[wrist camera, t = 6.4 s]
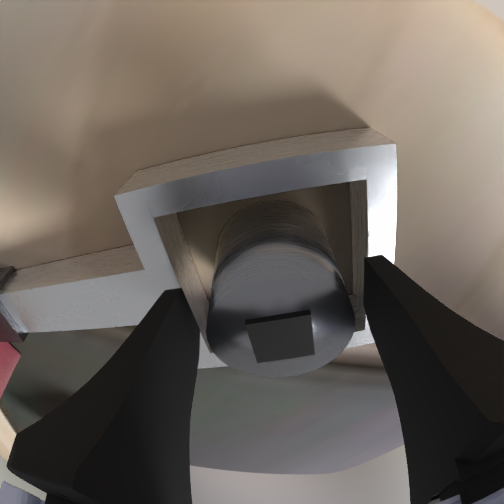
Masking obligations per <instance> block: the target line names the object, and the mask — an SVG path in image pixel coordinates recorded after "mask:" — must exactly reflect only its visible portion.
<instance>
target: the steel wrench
mask: <svg viewBox="0 0 504 504" xmlns="http://www.w3.org/2000/svg"><path fill="white" fill-rule="evenodd" d="M344 182H349V190H350V206H351V226H352V258H353V295H350V296H349V299H350V301H351V304H352V307H353V310H354V314H355V330H354V333H353V336H352V338H351V340H350V342H349V344H348V345H347V347H346V348H351V347H356V346H361V345H366V344H370V343H375V341H374V339H373V336H372V334H371V331H370V328H369V324H368V321H367V317H366V313H365V309H364V306H363V296H364V258H365V257H371V256H376V255H383V256H384V257H386V258H387V259H388V260H389V261H391V262H392V263H393V264H394V257H395V241H396V218H397V155H396V143H394V142H393V141H391V140H390V139H388V138H387V137H385V136H384V135H382V134H381V133H379V132H377V131H376V130H374V129H373V128H371V127H369V128H359V129H350V130H341V131H333V132H325V133H318V134H311V135H304V136H297V137H291V138H285V139H279V140H273V141H267V142H261V143H256V144H251V145H245V146H240V147H235V148H230V149H226V150H221V151H216V152H212V153H207V154H203V155H198V156H194V157H190V158H186V159H182V160H178V161H174V162H170V163H166V164H162V165H158V166H154V167H151V168H147V169H143V170H140V171H136V172H135V173H134V174H133V175H132V176H131V177H130V178H129V180H128V181H127V182H126V183H125V184H124V185H123V186H122V187H121V189H120V190H119V191H118V192H117V193H116V194H115V195H114V198H115V200H116V203H117V206H118V208H119V211H120V213H121V215H122V218H123V220H124V223H125V225H126V228H127V230H128V232H129V235H130V237H131V239H132V242H133V244H134V245H130V246H125V247H120V248H115V249H110V250H106V251H101V252H96V253H92V254H87V255H82V256H78V257H73V258H69V259H64V260H60V261H55V262H51V263H46V264H42V265H38V266H33V267H29V268H25V269H20V270H16V271H15V270H14V268H13V266H11V267H7V268H3V269H0V342H24V340H25V338H26V337H27V335H28V333H29V332H49V331H67V330H82V329H96V328H108V327H120V326H131V325H138V324H139V323H140V322H141V320H142V319H143V318H144V316H145V315H146V314H147V312H148V311H149V310H150V308H151V307H152V306H153V304H154V303H155V302H156V301H157V299H158V298H159V297H160V295H161V294H162V293H163V292H164V291H165V290H169V289H176V288H182V290H183V292H184V294H185V297H186V299H187V301H188V304H189V306H190V308H191V310H192V313H193V315H194V317H195V320H196V322H197V324H198V326H199V328H200V354H199V363H198V369H199V368H211V367H222V366H228V365H226V364H225V363H224V362H222V361H221V360H220V359H219V358H218V357H217V356H216V355H215V354H214V352H213V351H212V350H211V348H210V346H209V344H208V341H207V336H206V325H207V318H208V310H209V302H208V300H207V297H206V294H205V292H204V289H203V287H202V284H201V281H200V278H199V276H198V273H197V270H196V268H195V265H194V262H193V259H192V257H191V254H190V251H189V248H188V245H187V243H186V240H185V237H184V234H183V231H182V228H181V225H180V223H179V220H178V217H177V214H176V213H177V212H182V211H186V210H191V209H196V208H201V207H206V206H211V205H216V204H221V203H226V202H231V201H237V200H242V199H247V198H253V197H258V196H264V195H269V194H275V193H281V192H287V191H293V190H299V189H305V188H311V187H317V186H324V185H330V184H337V183H344ZM346 348H345V349H346Z"/></svg>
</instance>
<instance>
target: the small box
mask: <svg viewBox="0 0 504 504" xmlns="http://www.w3.org/2000/svg"><path fill="white" fill-rule="evenodd" d="M20 357H21V355H20V353H19V352H18V351H17V350H15V349H14V348H13V347H12V346H11V345H10V344H9V343H8V342H0V398H1V396H2V394H3V392H4V389H5V387H6V385H7V383H8V381H9V379H10V377H11V375H12V373H13V370H14V368H15V366H16V365H17V363H18V361H19V359H20Z"/></svg>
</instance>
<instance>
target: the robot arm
mask: <svg viewBox="0 0 504 504" xmlns="http://www.w3.org/2000/svg"><path fill="white" fill-rule="evenodd" d="M363 306H364V309H365V313H366V317H367V321H368V324H369V328H370V331H371V334H372V336H373V339H374V341H375V344H376V346H377V349H378V351H379V354H380V357H381V359H382V362H383V364H384V367H385V369H386V372H387V375H388V377H389V380H390V383H391V386H392V389H393V392H394V395H395V399H396V404H397V408H398V413H399V417H400V422H401V427H402V433H403V438H404V444H405V451H406V458H407V464H408V474H409V486H410V502H411V504H504V341H503V340H501V339H499V338H497V337H495V336H493V335H491V334H489V333H487V332H486V331H484V330H482V329H480V328H479V327H477V326H475V325H474V324H472V323H470V322H469V321H467V320H466V319H464V318H463V317H461V316H459V315H458V314H456V313H455V312H453V311H452V310H451V309H449V308H448V307H446V306H445V305H444V304H442V303H441V302H440V301H438V300H437V299H436V298H434V297H433V296H432V295H430V294H429V293H428V292H427V291H425V290H424V289H423V288H422V287H420V286H419V285H418V284H417V283H415V282H414V281H413V280H412V279H411V278H409V277H408V276H407V275H406V274H405V273H404V272H402V271H401V270H400V269H399V268H398V267H396V266H395V265H394V264H393V263H392V262H391V261H389V260H388V259H387V258H386V257H384V256H383V255H376V256H371V257H365V258H364V296H363ZM199 354H200V328H199V326H198V324H197V322H196V320H195V317H194V315H193V313H192V310H191V308H190V306H189V304H188V301H187V299H186V297H185V294H184V292H183V290H182V288H176V289H169V290H165V291H164V292H163V293H162V294H161V295H160V297H159V298H158V299H157V301H156V302H155V303H154V304H153V306H152V307H151V308H150V310H149V311H148V312H147V314H146V315H145V316H144V318H143V319H142V320H141V322H140V323H139V324H138V325H137V327H136V328H135V329H134V331H133V332H132V333H131V335H130V336H129V337H128V338H127V339H126V341H125V342H124V343H123V344H122V345H121V347H120V348H119V349H118V350H117V351H116V353H115V354H114V355H113V356H112V357H111V358H110V360H109V361H108V362H107V363H106V364H105V365H104V366H103V367H102V368H101V369H100V370H99V371H98V372H97V373H96V374H95V375H94V376H93V377H92V378H91V379H90V380H89V381H88V382H87V383H86V384H85V385H84V386H83V387H81V388H80V389H79V390H78V391H77V392H76V393H75V394H74V395H72V396H71V397H70V398H69V399H68V400H67V401H65V402H64V403H63V404H61V405H60V406H59V407H58V408H56V409H55V410H53V411H52V412H51V413H49V414H48V415H47V416H45V417H44V418H42V419H41V420H39V421H37V422H36V423H34V424H32V425H31V426H29V427H27V428H26V429H24V430H23V431H21V432H19V433H17V435H16V438H15V441H14V444H13V447H12V450H11V453H10V456H9V459H8V463H7V468H8V469H9V470H10V471H11V472H12V473H13V474H15V475H16V476H18V477H19V478H21V479H23V480H24V481H26V482H28V483H29V484H32V485H33V486H35V487H37V488H38V489H40V490H42V491H44V492H46V493H47V496H46V500H45V501H43V500H41V499H40V498H38V497H36V496H34V495H32V494H30V493H29V492H26V491H24V490H22V489H20V488H18V487H16V486H13V485H11V484H9V483H7V482H5V481H3V482H2V485H1V489H0V504H192V497H191V484H190V462H189V435H190V416H191V408H192V401H193V395H194V388H195V382H196V376H197V369H198V363H199Z"/></svg>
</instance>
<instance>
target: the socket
mask: <svg viewBox="0 0 504 504" xmlns="http://www.w3.org/2000/svg"><path fill="white" fill-rule="evenodd" d="M354 330H355V314H354V310H353V307H352V304H351V301H350V299H349V296H348V293H347V290H346V287H345V284H344V282H343V279H342V276H341V273H340V271H339V268H338V265H337V262H336V260H335V257H334V254H333V252H332V249H331V247H330V244H329V241H328V239H327V236H326V234H325V231H324V229H323V227H322V225H321V223H320V222H319V221H318V219H317V218H316V217H315V216H314V215H313V214H312V213H310V212H309V211H308V210H306V209H304V208H303V207H301V206H298V205H296V204H293V203H289V202H284V201H265V202H260V203H256V204H253V205H250V206H248V207H246V208H244V209H242V210H240V211H239V212H238V213H236V214H235V215H234V216H233V217H232V218H231V219H230V220H229V221H228V222H227V223H226V225H225V226H224V228H223V230H222V232H221V234H220V237H219V241H218V247H217V254H216V260H215V267H214V274H213V281H212V288H211V295H210V303H209V310H208V318H207V325H206V336H207V341H208V344H209V346H210V348H211V350H212V351H213V352H214V354H215V355H216V356H217V357H218V358H219V359H220V360H221V361H222V362H224V363H225V364H226V365H228V366H230V367H231V368H233V369H235V370H238V371H240V372H243V373H246V374H249V375H253V376H259V377H268V378H282V377H291V376H296V375H301V374H304V373H308V372H310V371H313V370H316V369H318V368H320V367H322V366H324V365H326V364H327V363H329V362H330V361H332V360H333V359H335V358H336V357H337V356H338V355H339V354H340V353H341V352H342V351H343V350H344V349H345V348H346V347H347V345H348V344H349V342H350V340H351V338H352V336H353V333H354Z"/></svg>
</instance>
